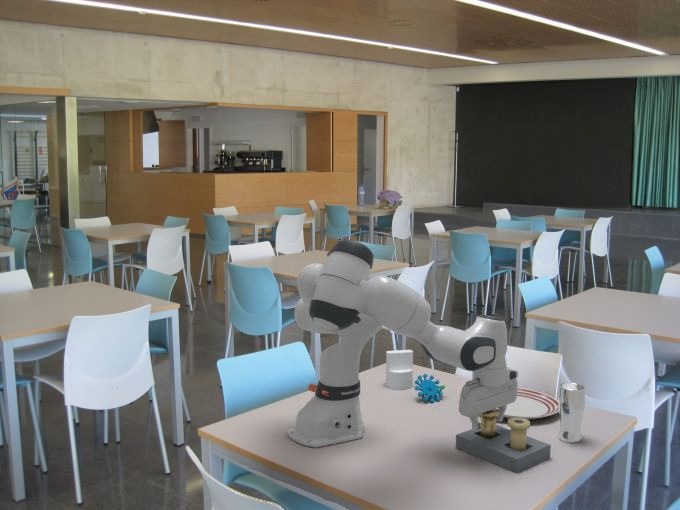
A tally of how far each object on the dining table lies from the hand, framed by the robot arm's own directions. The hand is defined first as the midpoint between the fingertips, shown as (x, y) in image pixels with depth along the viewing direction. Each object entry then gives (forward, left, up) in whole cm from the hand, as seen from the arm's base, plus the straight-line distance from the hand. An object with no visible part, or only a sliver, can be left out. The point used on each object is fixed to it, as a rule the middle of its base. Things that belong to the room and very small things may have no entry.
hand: (487, 424), depth 190 cm
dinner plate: (+29, +13, -7) cm, 32 cm away
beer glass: (+22, -11, -6) cm, 25 cm away
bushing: (0, 0, -6) cm, 6 cm away
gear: (+15, +36, -6) cm, 40 cm away
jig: (0, -5, -6) cm, 8 cm away
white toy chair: (+17, +52, -6) cm, 55 cm away
